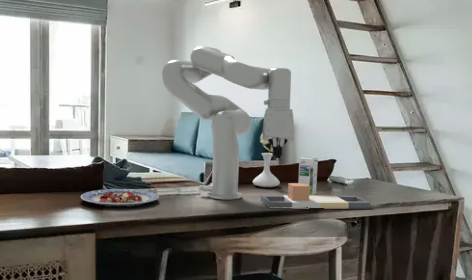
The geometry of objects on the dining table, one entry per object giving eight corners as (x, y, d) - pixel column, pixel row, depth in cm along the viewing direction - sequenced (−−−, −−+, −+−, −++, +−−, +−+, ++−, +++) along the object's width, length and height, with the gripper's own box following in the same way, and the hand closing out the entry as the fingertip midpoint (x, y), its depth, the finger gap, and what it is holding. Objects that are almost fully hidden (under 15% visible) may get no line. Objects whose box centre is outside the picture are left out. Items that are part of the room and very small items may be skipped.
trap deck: (268, 208, 176) (269, 202, 176) (260, 200, 189) (260, 195, 189) (370, 208, 182) (370, 202, 182) (355, 201, 195) (355, 195, 195)
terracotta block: (292, 200, 181) (292, 186, 180) (287, 197, 187) (288, 183, 186) (309, 200, 182) (309, 186, 181) (304, 197, 188) (304, 183, 187)
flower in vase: (248, 184, 223) (251, 125, 221) (273, 184, 227) (276, 126, 225) (259, 189, 211) (261, 127, 209) (285, 189, 214) (288, 128, 212)
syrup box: (297, 195, 203) (298, 157, 202) (302, 192, 208) (304, 156, 207) (311, 196, 200) (313, 158, 199) (316, 194, 205) (318, 157, 204)
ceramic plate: (77, 196, 186) (77, 187, 186) (150, 193, 195) (150, 185, 195) (84, 212, 162) (84, 202, 162) (166, 208, 171) (166, 199, 171)
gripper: (259, 104, 175) (258, 159, 177) (303, 105, 178) (301, 159, 179) (255, 103, 183) (253, 156, 184) (296, 105, 185) (294, 157, 187)
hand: (277, 157), depth 182 cm, fingers closed
